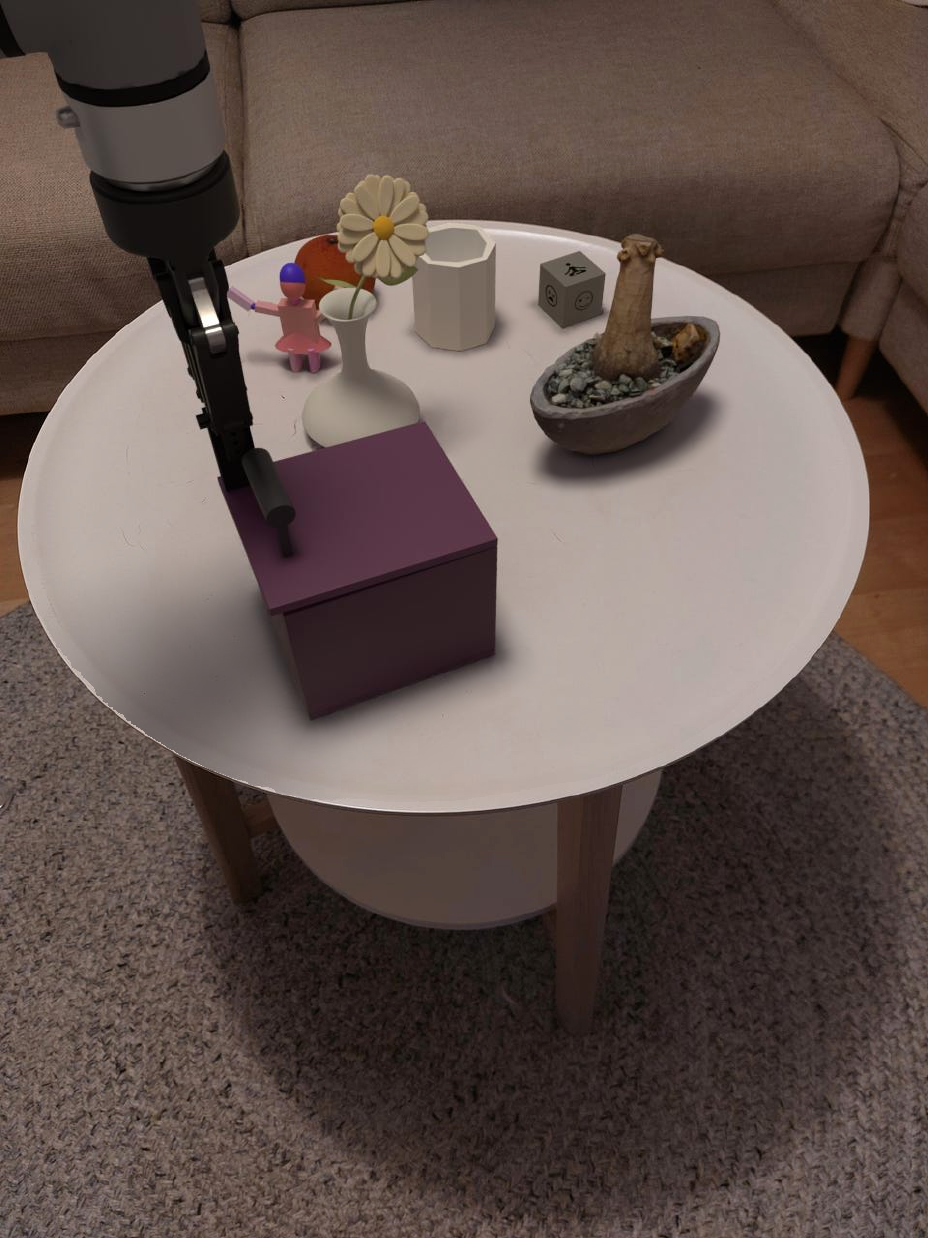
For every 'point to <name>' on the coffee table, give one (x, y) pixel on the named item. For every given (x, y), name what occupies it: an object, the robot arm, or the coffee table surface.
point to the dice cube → (571, 289)
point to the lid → (353, 516)
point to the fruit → (327, 268)
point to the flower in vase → (367, 313)
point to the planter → (625, 366)
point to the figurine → (292, 318)
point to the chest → (391, 633)
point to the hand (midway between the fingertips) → (242, 479)
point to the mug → (455, 287)
